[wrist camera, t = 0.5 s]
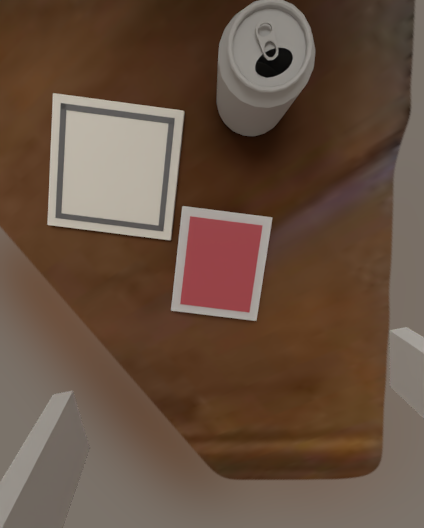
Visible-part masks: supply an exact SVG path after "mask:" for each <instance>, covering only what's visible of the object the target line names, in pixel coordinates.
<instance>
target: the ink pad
mask: <svg viewBox="0 0 424 528" xmlns="http://www.w3.org/2000/svg"><path fill="white" fill-rule="evenodd" d="M271 224H272V217H265V216H257V215H249V214H241V213H233V212H226V211H218V210H210V209H202V208H194V207H187V206H182V214H181V223H180V232H179V241H178V250H177V259H176V269H175V278H174V287H173V296H172V305H171V311H179V312H187V313H195V314H203V315H212V316H220V317H228V318H236V319H244V320H253V321H256V320H257V314H258V308H259V301H260V295H261V288H262V282H263V275H264V269H265V262H266V256H267V250H268V243H269V237H270V230H271Z"/></svg>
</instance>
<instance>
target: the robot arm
mask: <svg viewBox="0 0 424 528" xmlns="http://www.w3.org/2000/svg"><path fill="white" fill-rule="evenodd" d="M390 387H391V388H392V389H393V390H394V391H395V392H396V393H397V394H398V395H399V396H400V397H401V398H403V400H405V401H406V402H407V403H408V404H409V405H410V406H411V407H412V408H413V409H414V410H415V411H416V412H417V413H418V414H420V415H421V416H422V417H423V418H424V337H422V336H421V335H419V334H417V333H416V332H414V331H413V330H410V329H409V328H408V327H405V328H399V329H394V330H390ZM89 449H90V447H89V443H88V439H87V436H86V433H85V429H84V426H83V423H82V420H81V416H80V412H79V409H78V406H77V403H76V399H75V396H74V392H73V391H68V392H63V393H58V394H53V396H52V397H51V399H50V401H49V402H48V404H47V406H46V407H45V409H44V411H43V412H42V414H41V415H40V417H39V419H38V421H37V422H36V424H35V425H34V427H33V429H32V430H31V432H30V434H29V435H28V437H27V439H26V440H25V442H24V444H23V445H22V447H21V449H20V450H19V452H18V454H17V455H16V457H15V458H14V460H13V462H12V464H11V465H10V467H9V469H8V470H7V472H6V473H5V475H4V477H3V478H2V480H1V482H0V528H63V526H64V523H65V520H66V517H67V514H68V511H69V508H70V505H71V502H72V499H73V497H74V493H75V490H76V487H77V485H78V481H79V478H80V476H81V473H82V470H83V467H84V464H85V461H86V458H87V455H88V452H89Z"/></svg>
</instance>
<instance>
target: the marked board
mask: <svg viewBox="0 0 424 528" xmlns="http://www.w3.org/2000/svg"><path fill="white" fill-rule="evenodd" d="M184 115H185V112H184V111H182V110H175V109H168V108H160V107H153V106H145V105H138V104H130V103H123V102H115V101H108V100H100V99H93V98H85V97H78V96H70V95H63V94H55V93H53V106H52V130H51V153H50V177H49V201H48V225H52V226H60V227H68V228H76V229H84V230H92V231H100V232H108V233H116V234H124V235H132V236H140V237H148V238H156V239H164V240H171V238H172V229H173V219H174V210H175V200H176V191H177V181H178V172H179V162H180V153H181V143H182V134H183V124H184Z"/></svg>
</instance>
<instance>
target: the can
mask: <svg viewBox="0 0 424 528" xmlns="http://www.w3.org/2000/svg"><path fill="white" fill-rule="evenodd" d="M314 59H315V46H314V41H313V35H312V33H311V28H310V26H309V24H308V22H307V20H306V18H305V16H304V14H303V13H302V12H300V11H299V10H298V9H297V8H296V7H295V6H294V5H293V4H291V3H288V2H286V1H284V0H259V1H255V2H253V3H252V4H250V5H249V6H247V7H246V8H244V9H243V10H242V11H240V12H239V13H237V14H236V15H235V16H234V17H233V18H232V20H231V21H230V22H229V24H228V25H227V26H226V28H225V30H224V32H223V35H222V38H221V40H220V43H219V53H218V74H217V100H216V103H217V107H218V112H219V115H220V117H221V118H222V120H223V122H224V123H225V125H227V126H228V127H229V128H230V129H231V130H232V131H234V132H236V133H238V134H241V135H243V136H257V135H261V134H265V133H266V132H268V131H269V130H271V129H272V128H274V127H275V126H276V124H277V123H278V122H279V121H280V119H281V118H282V117H283V115H284V114H285V113H286V111H287V110H288V109H289V107H290V106H291V105H292V103H293V102H294V100H295V99H296V98H297V96H298V95H299V94H300V92H301V91H302V90H303V88H304V87H305V85H306V84H307V82H308V80H309V78H310V75H311V73H312V70H313V68H314Z"/></svg>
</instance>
